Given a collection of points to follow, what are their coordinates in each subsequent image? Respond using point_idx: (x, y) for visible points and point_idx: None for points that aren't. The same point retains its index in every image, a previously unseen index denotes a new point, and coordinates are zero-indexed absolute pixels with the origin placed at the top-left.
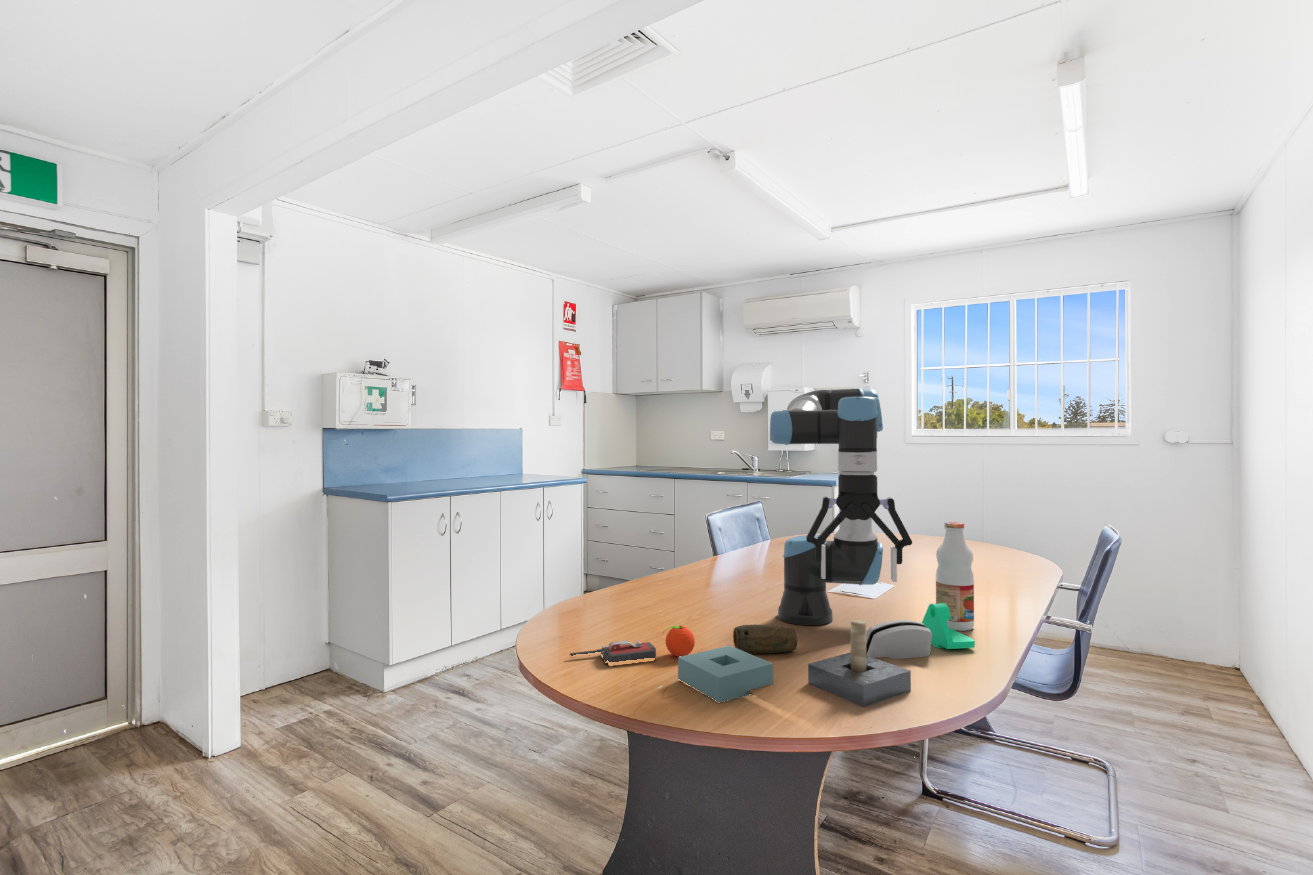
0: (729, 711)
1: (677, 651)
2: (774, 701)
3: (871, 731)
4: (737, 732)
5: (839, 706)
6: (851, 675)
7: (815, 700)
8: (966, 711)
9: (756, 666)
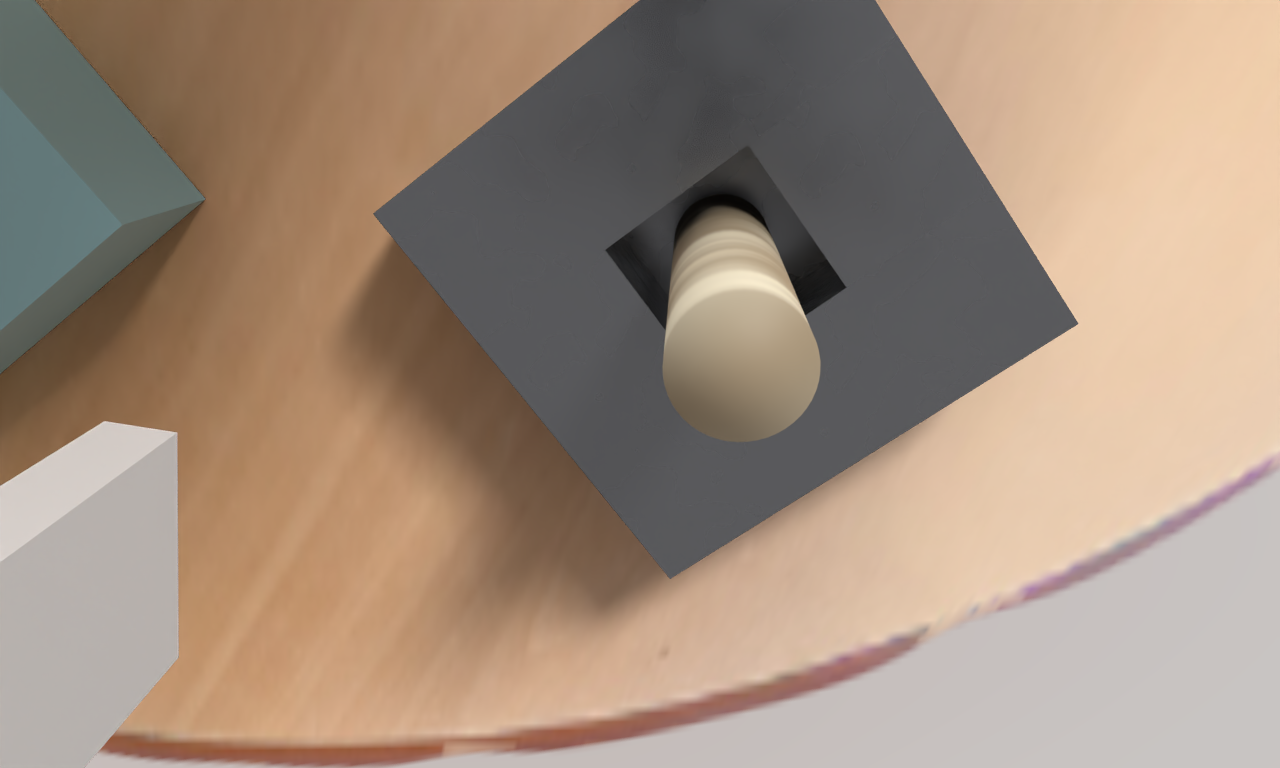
0: None
1: None
2: (220, 390)
3: (654, 691)
4: None
5: None
6: (636, 425)
7: (443, 368)
8: (1232, 479)
9: (16, 285)
